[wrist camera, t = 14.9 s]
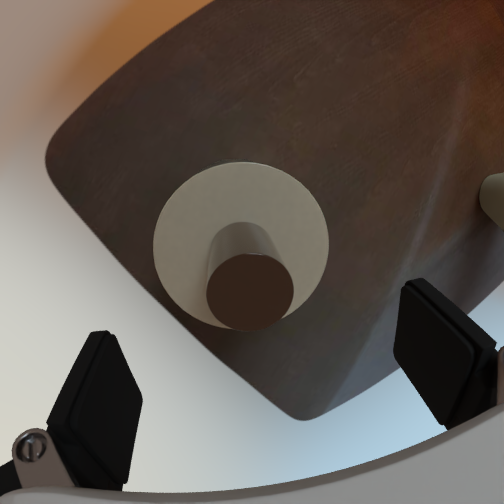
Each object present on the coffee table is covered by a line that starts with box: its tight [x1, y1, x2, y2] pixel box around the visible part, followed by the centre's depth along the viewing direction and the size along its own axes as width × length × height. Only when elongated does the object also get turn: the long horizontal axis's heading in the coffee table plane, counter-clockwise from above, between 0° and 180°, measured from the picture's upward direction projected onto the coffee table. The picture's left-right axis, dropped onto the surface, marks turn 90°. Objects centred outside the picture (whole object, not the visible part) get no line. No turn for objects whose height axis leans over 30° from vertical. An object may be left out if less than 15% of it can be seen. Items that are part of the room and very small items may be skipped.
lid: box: [153, 162, 329, 331], centre depth 17 cm, size 11×11×7 cm
